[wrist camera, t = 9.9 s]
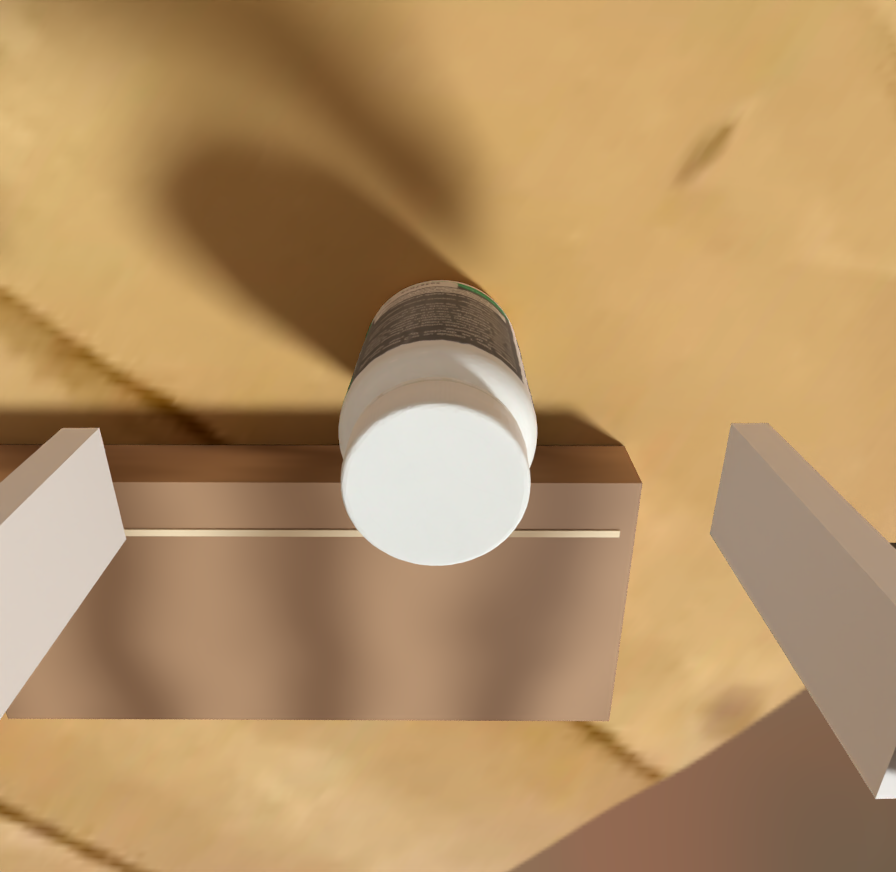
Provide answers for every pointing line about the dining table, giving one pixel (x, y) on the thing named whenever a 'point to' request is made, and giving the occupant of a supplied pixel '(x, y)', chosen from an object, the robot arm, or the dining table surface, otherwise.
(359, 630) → the board
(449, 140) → the dining table surface
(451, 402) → the pill bottle
